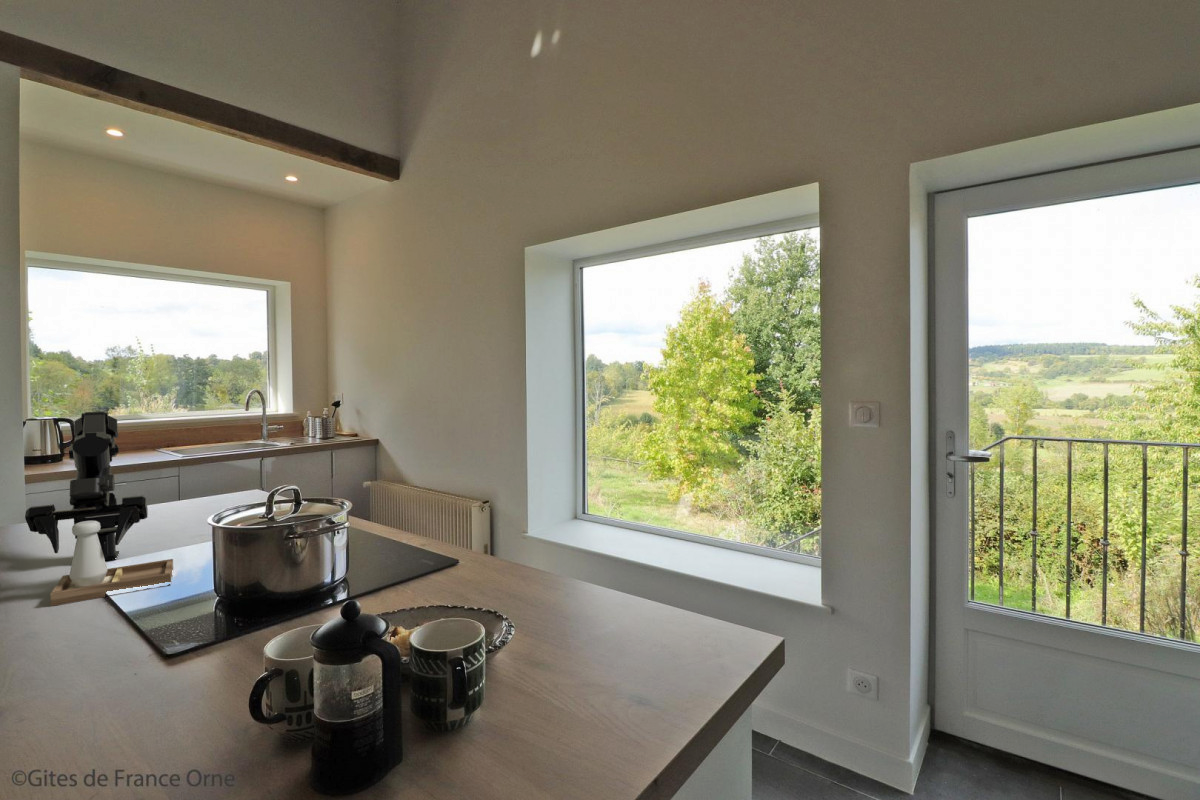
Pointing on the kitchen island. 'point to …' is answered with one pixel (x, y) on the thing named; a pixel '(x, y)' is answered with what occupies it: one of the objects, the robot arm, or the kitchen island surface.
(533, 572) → the kitchen island surface
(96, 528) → the salt shaker
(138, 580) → the brown flat rectangular tray
